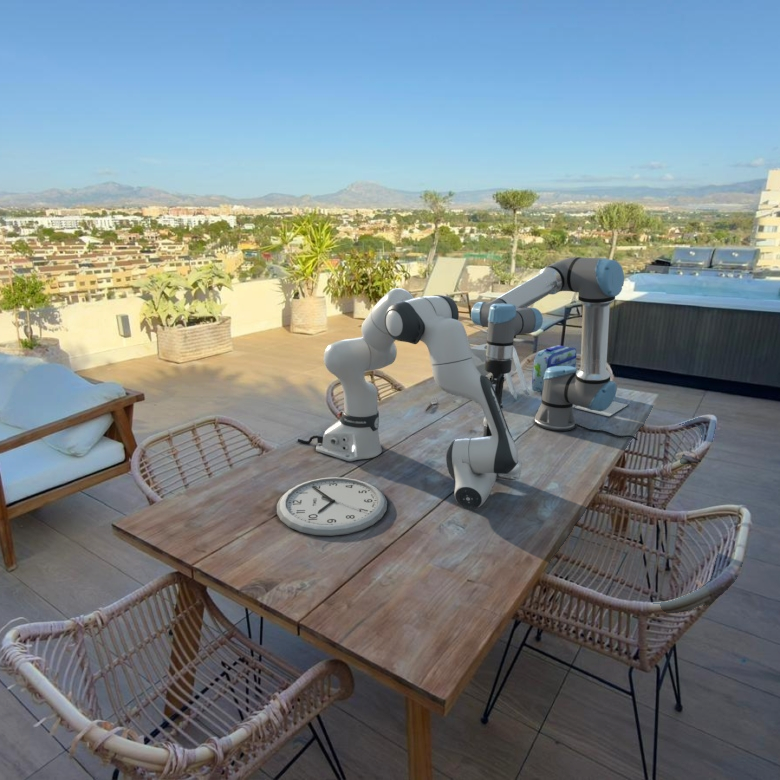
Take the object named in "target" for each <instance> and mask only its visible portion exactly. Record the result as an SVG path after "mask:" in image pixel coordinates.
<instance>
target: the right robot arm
mask: <svg viewBox="0 0 780 780" xmlns="http://www.w3.org/2000/svg"><path fill="white" fill-rule="evenodd" d="M624 283H625V272H624V269H623V266H622V265H621V264H620V263H619V261H618V260H615V259H609V258H606V257H602V258H601V257H581V256H571V257H568V258H564V259H561V260H559V261H555V262H553V263H551V264H549V265H548V266H546V267H544V268H542V269H541V270H540V271H539V273H538V274H537V275H536V276H534V277H532V278H530V279H529V280H526V281H525V282H523V283H522V284H520V285H518V286H516V287H514V288H513V289H511V290H509V291H507V292H506V293H504V294H502V295H500V296H498V297H496V298H495V299H493V300H491V301H489V302H486V301H478V302H476V303H475V304H474V305H473V306H472V308H471V311H470V319H471V321H472V323H473V324H474V325H476V326H479V327H482V328H487V334H486V337H487V338H486V344H487V346H485V347H484V348H485V349H487V350H486V356H487V358H486V359H485V370H486V371H487V372H490V373H489V374H491V375H490V377H489V378H488V379H489V380H490V382H491V384H492V386H493V388H494V391H495V393H496V396H497V398H498V401H499V404H500V407H501V409H503V408H504V405H503V404H502V402H503V401H502V400H503V389H504V383H505V379H506V377H505V374H506V373H509V372H510V373H511V371H512V364H513V361H512V360H513V359H511V358H512V355H513V346H514V339H515V337H516V336H521V335H530V334H532V333H536V332H538V331H539V330H540V329H541V327H542V326H543V323H544V317H543V314H542V313H541V311H540V310H539V309H538V308H536V307H531V306H532V305H533V304H536V303H537V302H539V301H540V300H542V299H543V298H545V297H547V296H549V295H556V294H558V293H561V292H574V293H577V295H578V302H579V303H580V304H582V313H581V314H582V315H581V316H582V317H581V341H580V343H581V345H580V367H579V369H578V368H577V367H576V366H575V367H572V366H554V367H550V368H547V369H546V371H545V374H544V378H543V379H544V381H543V391H542V394H541V402H540V405H539V407H538V409H537V411H536V413H535V416H534V424H535V425H536V426H537V427H539V428H542V429H544V430H549V431H556V432H567V431H572V430H574V429H575V428H576V427H578V428H582V429H584V430H586V431H590V432H599V433H605V434H607V435H610V436H613V437H615V438H620V439H621V438H622V439H623V438H632V439H633V440H635V441H639V439H638V438H637V437H636V436H634V435H631V434H628V435H627V434H626V435H619V434H615V433H612V432H610V431H607V430H603V429H595V428H588V427H586V426H583V425H580V424H578V423H576V418H575V417H576V416H575V413H574V407H573V405H574V406H581V407H584V408H588V409H590V410H595V411H604V410H606V409H607V408H608V407H609V406H610V405H611V403H612V402H613V401H614V400H615V398H616V394H617V390H618V385H617V384H616V382H615V381H613V380H611V372H610V371H609V370H608V369H607V365H608V364H607V363H608V343H609V327H610V311H611V304H612V303H613V302H614V301H615V300H616V297H617V296H619V295H620V293H621V292H622V291H623V287H624ZM486 436H492V434H491V431H490V428H489V425H488V423H487V435H486Z"/></svg>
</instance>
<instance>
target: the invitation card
mask: <svg viewBox="0 0 780 780" xmlns="http://www.w3.org/2000/svg"><path fill="white" fill-rule="evenodd" d="M628 406H629V404H627V403H623V402H618V401H614V400H613V402H612V403H611V405H610V406H609V407H608V408H607V409H606V410H604V411H595V410H590V409H588V408H584V407H581V406H577V405H575V406H574V407H573V409H575V410H581V411H584V412H587V413H593V414H596V415H600V416H604V417H608V418H609V417H611V416H613V415H614V414H616V413H617V412H619V411H621V410H623V409H624V408H626V407H628Z"/></svg>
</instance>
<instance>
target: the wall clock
mask: <svg viewBox="0 0 780 780" xmlns="http://www.w3.org/2000/svg"><path fill="white" fill-rule="evenodd" d="M387 509H388V500H387V498H386V496H385V494H384V493H383V492H382V491H381V490H380V489H379V488H377V487H376V486H374V485H372V484H371V483H369V482H365V481H362V480H359V479H355V478H349V477H338V476H337V477H335V476H333V477H332V476H331V477H322V478H317V479H312V480H307V481H305V482H302V483H299V484H297V485H295V486H293V487H292V488H290V489H288V490H287V491H286V492H285V493H284V494H283V495H281V496H280V498H279V499H278V502H277V503H276V515H277V517H278V518H279V520H280V521H281V522H282V523H283V524H285V525H286V526H287V527H288V528H290V529H293V530H295V531H297V532H299V533H303V534H308V535H312V536H327V537H328V536H329V537H331V536H332V537H333V536H342V535H350V534H352V533H356V532H361V531H363V530H366V529H368V528H369V527H372V526H373V525H375V524H376V523H378V522H379V521H380V520H381V519H382V518H383V517H384V516H385V514H386V512H387Z"/></svg>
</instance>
